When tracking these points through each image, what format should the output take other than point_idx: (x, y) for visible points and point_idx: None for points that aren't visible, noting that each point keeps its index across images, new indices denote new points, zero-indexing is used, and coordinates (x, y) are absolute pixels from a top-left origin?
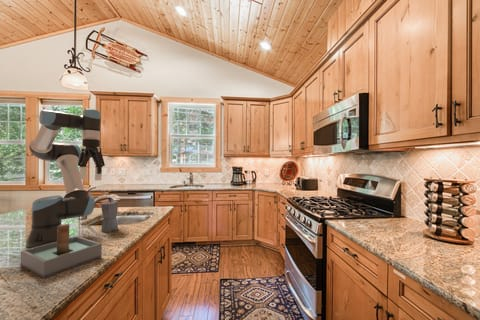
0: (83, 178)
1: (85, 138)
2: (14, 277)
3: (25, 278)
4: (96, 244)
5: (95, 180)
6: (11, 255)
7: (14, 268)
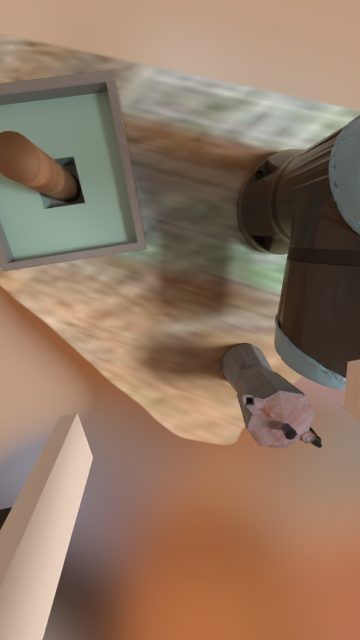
0: (352, 388)
1: None
2: (37, 65)
3: None
4: (4, 258)
5: (64, 415)
6: (236, 102)
7: None
